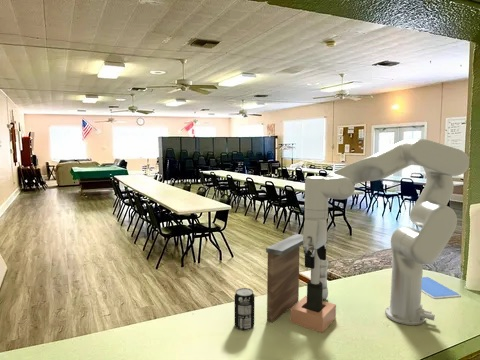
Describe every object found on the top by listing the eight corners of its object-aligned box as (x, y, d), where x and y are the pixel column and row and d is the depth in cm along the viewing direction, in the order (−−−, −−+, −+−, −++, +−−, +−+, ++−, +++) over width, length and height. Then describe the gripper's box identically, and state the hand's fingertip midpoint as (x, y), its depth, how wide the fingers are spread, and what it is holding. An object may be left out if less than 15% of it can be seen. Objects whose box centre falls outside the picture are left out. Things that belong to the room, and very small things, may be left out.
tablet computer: (461, 297, 140) (462, 294, 140) (433, 300, 138) (433, 297, 138) (427, 279, 159) (428, 276, 159) (402, 281, 157) (402, 278, 156)
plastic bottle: (321, 304, 133) (322, 252, 131) (307, 298, 138) (308, 248, 136) (331, 299, 137) (333, 249, 135) (317, 293, 142) (318, 245, 140)
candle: (321, 324, 118) (323, 252, 115) (306, 322, 119) (307, 251, 117) (321, 317, 123) (323, 247, 120) (306, 315, 124) (308, 246, 122)
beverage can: (244, 319, 122) (244, 285, 121) (258, 326, 117) (258, 291, 116) (230, 326, 117) (230, 291, 116) (244, 333, 113) (244, 297, 111)
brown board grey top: (309, 303, 134) (310, 236, 131) (281, 328, 116) (282, 251, 113) (294, 299, 137) (296, 233, 134) (265, 322, 119) (266, 247, 117)
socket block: (335, 318, 123) (336, 304, 122) (322, 332, 113) (323, 317, 113) (305, 309, 129) (305, 296, 129) (290, 322, 120) (290, 308, 119)
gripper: (316, 208, 126) (315, 254, 128) (294, 217, 112) (293, 269, 114) (336, 210, 122) (335, 258, 124) (316, 219, 108) (315, 273, 110)
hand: (315, 263), depth 119 cm, fingers open, 9 cm apart
